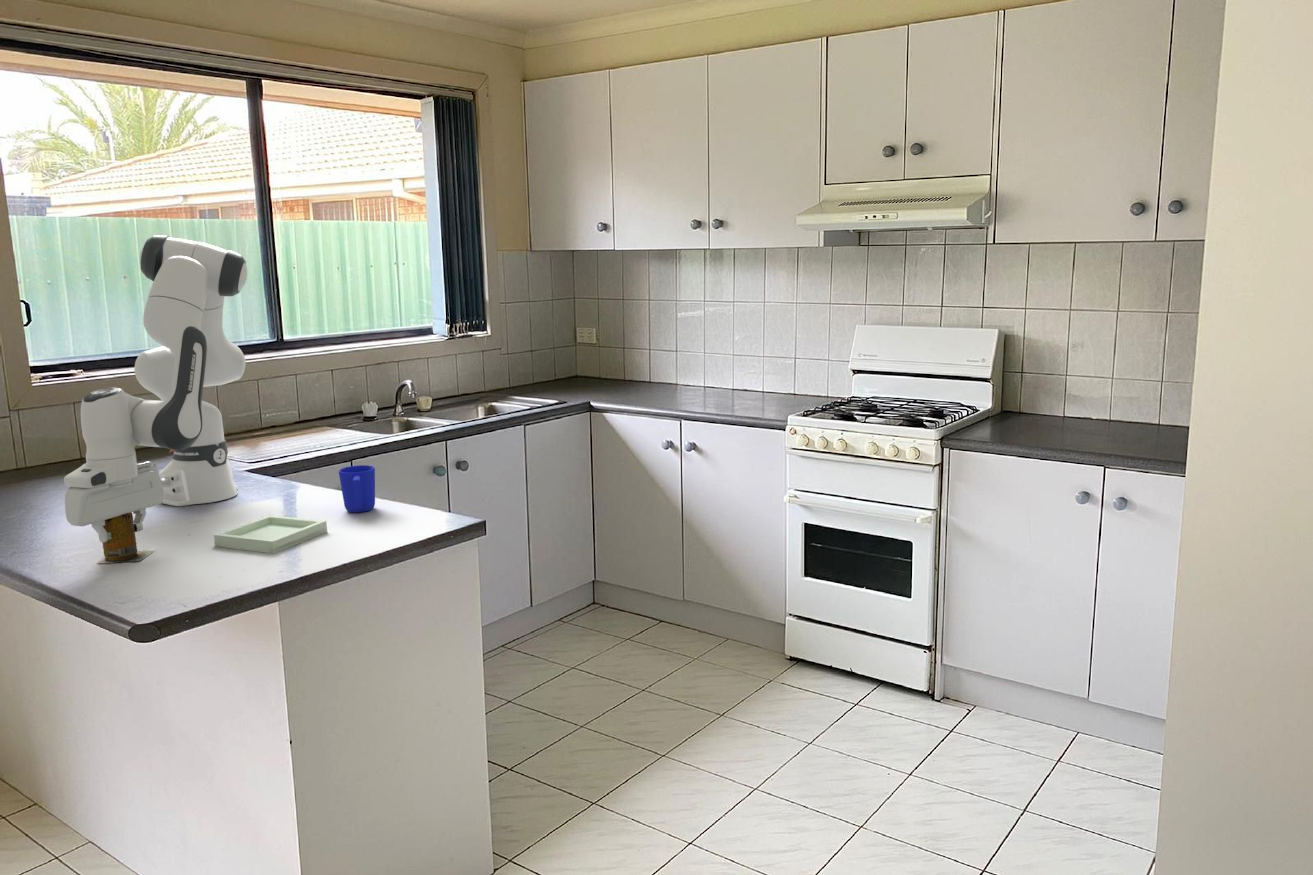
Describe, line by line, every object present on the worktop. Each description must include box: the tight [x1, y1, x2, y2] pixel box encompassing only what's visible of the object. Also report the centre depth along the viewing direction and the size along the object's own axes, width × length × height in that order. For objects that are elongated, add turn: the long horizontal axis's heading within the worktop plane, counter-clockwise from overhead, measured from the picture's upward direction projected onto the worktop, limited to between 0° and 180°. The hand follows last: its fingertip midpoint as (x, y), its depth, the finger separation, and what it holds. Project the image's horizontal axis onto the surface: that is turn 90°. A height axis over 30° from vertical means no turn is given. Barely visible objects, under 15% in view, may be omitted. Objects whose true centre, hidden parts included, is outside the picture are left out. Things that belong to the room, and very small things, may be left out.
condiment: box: [96, 512, 154, 564], centre depth 203 cm, size 7×8×12 cm
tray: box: [213, 514, 328, 554], centre depth 214 cm, size 16×16×2 cm
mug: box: [338, 464, 376, 514], centre depth 233 cm, size 8×12×10 cm
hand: (121, 536), depth 203 cm, fingers closed on condiment, 6 cm apart
